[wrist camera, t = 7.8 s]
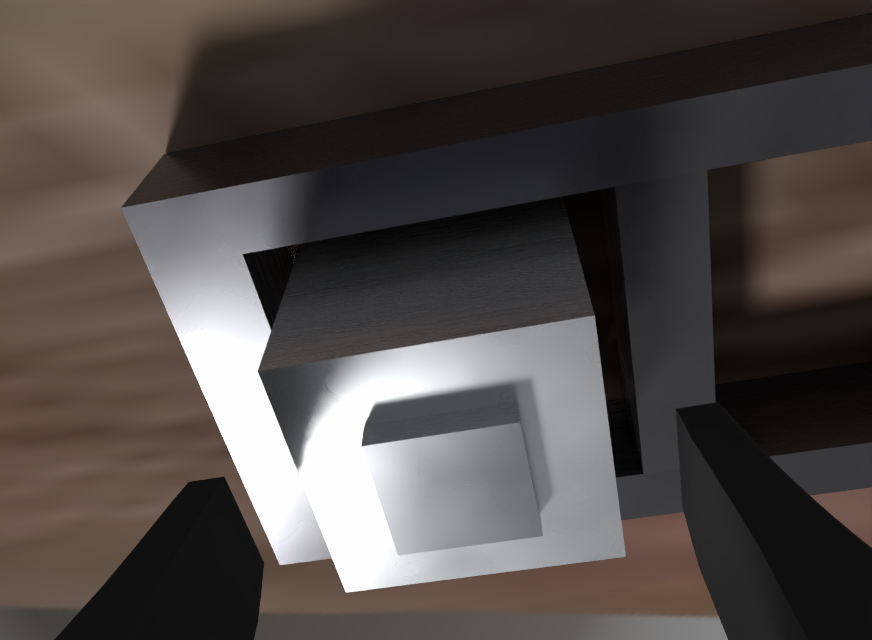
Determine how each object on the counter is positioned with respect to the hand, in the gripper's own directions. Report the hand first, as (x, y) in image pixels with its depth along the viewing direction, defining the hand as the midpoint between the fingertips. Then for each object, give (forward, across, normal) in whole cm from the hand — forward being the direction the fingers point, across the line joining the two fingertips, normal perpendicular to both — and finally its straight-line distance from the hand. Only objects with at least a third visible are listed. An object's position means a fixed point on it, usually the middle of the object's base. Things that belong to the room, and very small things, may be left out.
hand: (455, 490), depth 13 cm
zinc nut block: (+6, 0, 0) cm, 6 cm away
